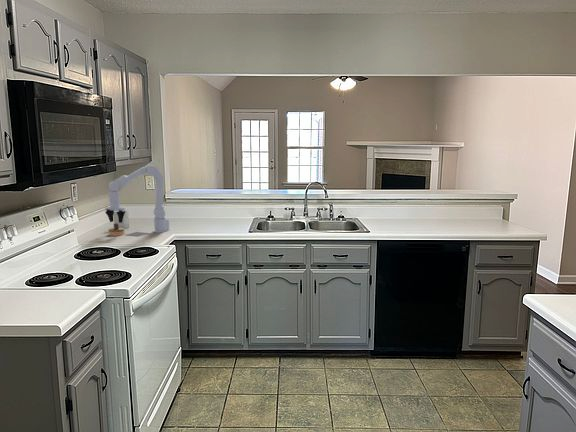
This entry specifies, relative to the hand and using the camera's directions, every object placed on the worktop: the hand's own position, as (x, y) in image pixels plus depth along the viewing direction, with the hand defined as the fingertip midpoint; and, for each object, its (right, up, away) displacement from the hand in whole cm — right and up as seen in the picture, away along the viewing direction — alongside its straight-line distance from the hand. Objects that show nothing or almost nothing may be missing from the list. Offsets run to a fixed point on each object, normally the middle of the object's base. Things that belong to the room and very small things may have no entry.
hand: (116, 222), depth 283 cm
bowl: (0, -8, +1) cm, 8 cm away
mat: (+13, -8, +1) cm, 15 cm away
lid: (0, -5, +1) cm, 5 cm away
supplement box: (-5, -5, +23) cm, 24 cm away
